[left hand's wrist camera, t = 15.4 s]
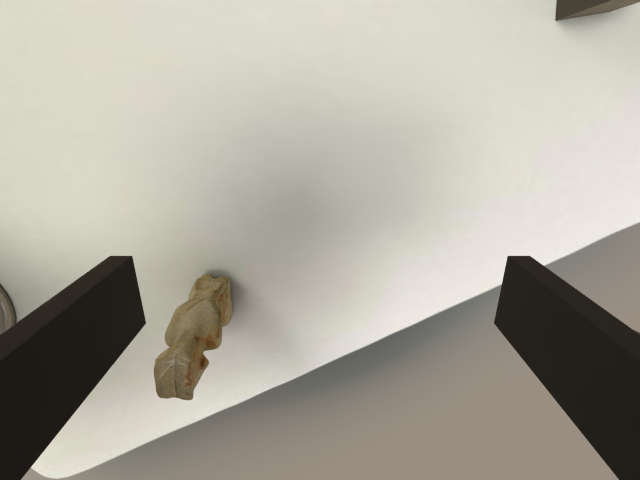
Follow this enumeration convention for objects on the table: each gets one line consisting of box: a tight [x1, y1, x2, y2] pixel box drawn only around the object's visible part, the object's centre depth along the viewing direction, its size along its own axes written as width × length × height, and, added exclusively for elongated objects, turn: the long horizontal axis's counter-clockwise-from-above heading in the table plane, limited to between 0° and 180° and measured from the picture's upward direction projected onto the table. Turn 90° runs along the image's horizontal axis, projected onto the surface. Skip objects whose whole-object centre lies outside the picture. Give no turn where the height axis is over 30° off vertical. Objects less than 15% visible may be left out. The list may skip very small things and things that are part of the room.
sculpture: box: [154, 275, 232, 400], centre depth 39 cm, size 6×7×15 cm
